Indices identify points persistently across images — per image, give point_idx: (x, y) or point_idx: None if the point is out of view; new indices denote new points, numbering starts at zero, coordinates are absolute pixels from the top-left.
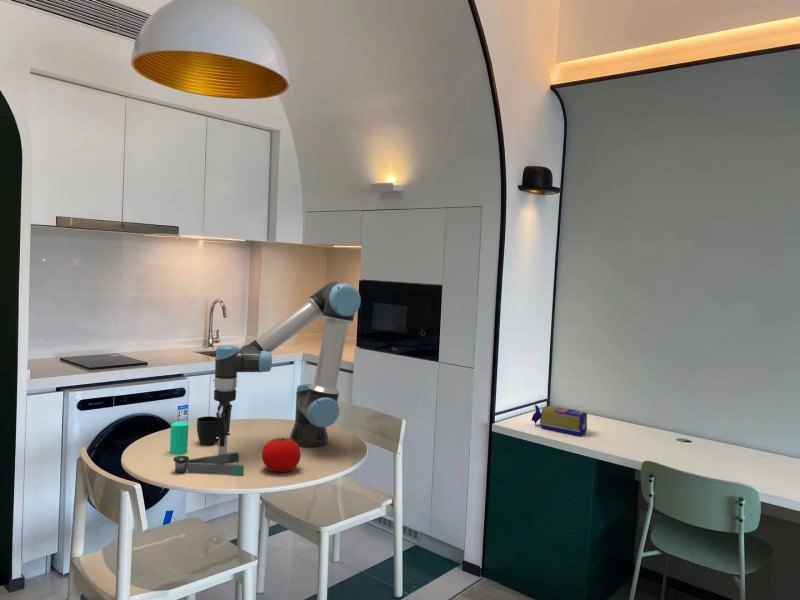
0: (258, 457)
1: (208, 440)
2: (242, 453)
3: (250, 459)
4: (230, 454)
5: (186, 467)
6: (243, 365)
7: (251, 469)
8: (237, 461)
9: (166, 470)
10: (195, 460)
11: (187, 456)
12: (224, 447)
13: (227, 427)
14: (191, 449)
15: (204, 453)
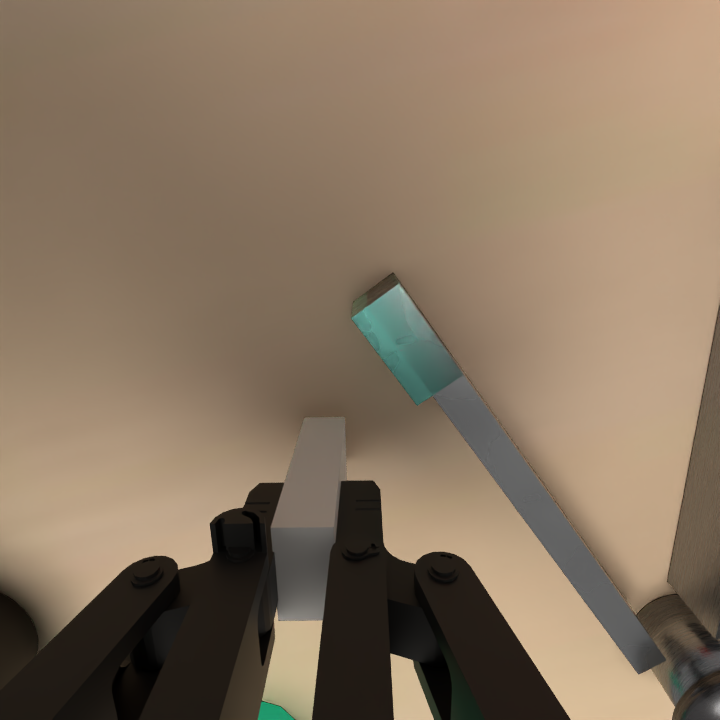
0: (226, 93)
1: (6, 651)
2: (144, 294)
3: (309, 167)
4: (454, 361)
5: (691, 619)
6: None
7: (622, 79)
8: (399, 281)
9: (641, 706)
10: (629, 608)
11: (706, 699)
12: (342, 468)
13: (238, 645)
14: None
15: None
